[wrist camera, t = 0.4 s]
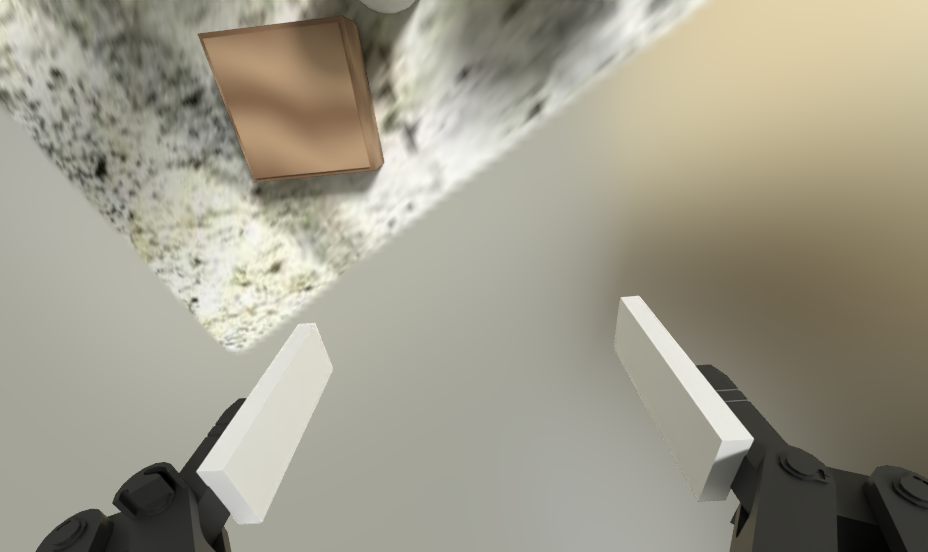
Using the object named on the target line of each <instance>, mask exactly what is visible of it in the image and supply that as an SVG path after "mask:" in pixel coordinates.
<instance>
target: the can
mask: <svg viewBox="0 0 928 552" xmlns="http://www.w3.org/2000/svg"><path fill="white" fill-rule="evenodd" d="M359 1H360V2H361V3H363V4H364V5H365V6H366V7H368V8H369V9H372V10H374V11H377V12H380V13H398V12H400V11H402V10H404V9H407V8H409V7H410V6H411V5H412V4H413V3H414V2H415V1H416V0H359Z"/></svg>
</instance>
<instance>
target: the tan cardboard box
mask: <svg viewBox="0 0 928 552" xmlns="http://www.w3.org/2000/svg"><path fill="white" fill-rule="evenodd" d="M198 36H199V39H200V41H201V44H202V47H203V49H204V52H205V54H206V57H207V60H208V62H209V65H210V67H211V70H212V73H213V75H214V78H215V80H216V83H217V86H218V88H219V91H220V94H221V96H222V99H223V101H224V104H225V107H226V109H227V112H228V114H229V117H230V120H231V122H232V125H233V127H234V130H235V133H236V135H237V138H238V141H239V143H240V146H241V148H242V151H243V154H244V156H245V159H246V161H247V164H248V167H249V169H250V172H251V175H252V177H253V180H254V182H264V181H274V180H284V179H294V178H304V177H314V176H324V175H334V174H344V173H354V172H364V171H374V170H377V169H378V168H379V167H380V166H381V165H382V164H383V163H384V158H383V153H382V148H381V143H380V138H379V133H378V128H377V123H376V118H375V113H374V108H373V103H372V98H371V93H370V88H369V83H368V78H367V73H366V68H365V63H364V58H363V53H362V48H361V43H360V38H359V33H358V28H357V24H356V23H354V22H353V21H351V20H349V19H347V18H346V17H344V16H337V17H329V18H321V19H313V20H305V21H297V22H289V23H280V24H272V25H264V26H256V27H248V28H240V29H232V30H224V31H216V32H208V33H200V34H198Z"/></svg>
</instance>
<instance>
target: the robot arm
mask: <svg viewBox="0 0 928 552" xmlns="http://www.w3.org/2000/svg"><path fill="white" fill-rule="evenodd" d="M614 350H615V352H616V354H617V355H618V357H619V359H620V360H621V363H622V364H623V366H624V368H625V370H626V372H627V374H628V375H629V377H630V379H631V381H632V383H633V385H634V386H635V388H636V390H637V392H638V394H639V395H640V397H641V399H642V401H643V403H644V405H645V406H646V408H647V410H648V412H649V414H650V415H651V417H652V419H653V421H654V422H655V424H656V426H657V428H658V430H659V432H660V433H661V435H662V437H663V439H664V441H665V443H666V444H667V446H668V448H669V450H670V452H671V454H672V455H673V457H674V459H675V461H676V463H677V464H678V466H679V468H680V470H681V472H682V474H683V475H684V477H685V479H686V481H687V482H688V484H689V486H690V488H691V490H692V492H693V493H694V495H695V497H696V499H697V501H698V502H700V501H721V500H726V498H727V496H728V494H729V492H730V489H732V490H733V492H734V493H735V495H736V497H737V498H738V499H739V501H740V504H739V506H738V508H737V510H736V512H735V514H734V516H733V518H732V520H731V522H730V523H732V524H734V530H733V535H732V541H731V547H730V552H928V479H926V478H924V477H922V476H921V475H919V474H917V473H914V472H912V471H909V470H906V469H904V468H901V467H895V466H888V465H886V466H880V467H877V468H876V469H875V470H874V472H873V473H872V474H871V476H867V475H862V474H857V473H853V472H848V471H843V470H839V469H834V468H830V467H826V466H825V465H824V464H823V463H822V462H821V461H819V460H818V459H817V458H816V457H814V456H813V455H811V454H809V453H807V452H805V451H803V450H802V449H800V448H796V447H793V446H789V445H788V444H787V443H786V442H785V441H784V440H783V439H782V438H781V436H780V435H779V434H778V433H777V432H776V431H775V430H774V428H772V426H771V425H770V424H769V423H768V422H767V421H766V419H765V418H764V417H763V416H762V415H761V414H760V413H759V411H758V410H757V409H756V408H755V407H754V406H753V405H752V404H751V402H748V401H747V398H746V397H745V396H744V395H743V393H742V392H741V391H738V388H737V387H736V385H735V384H734V383H733V382H732V381H731V380H730V379H729V378H728V376H727V375H725V374H724V373H722V372H721V371H719V370H718V369H716V368H715V367H713V366H712V365H697V366H695V365H694V364H693V362H692V361H691V360H690V359H689V357H688V356H687V355H686V354H685V353H684V351H683V350H682V349H681V347H680V346H679V345H678V344H677V343H676V341H675V340H674V339H673V338H672V336H671V335H670V334H669V332H668V331H667V330H666V329H665V327H664V326H663V325H662V324H661V322H660V321H659V320H658V319H657V318H656V316H655V315H654V314H653V313H652V311H651V310H650V309H649V308H648V306H647V305H646V304H645V303H644V301H643V300H642V299H641V298H640V296H632V297H621V298H620V304H619V311H618V319H617V326H616V334H615V341H614ZM332 371H333V367H332V364H331V362H330V359H329V357H328V354H327V352H326V349H325V346H324V344H323V341H322V339H321V336H320V333H319V331H318V328H317V326H316V323H305V324H298V325H297V327H296V328H295V330H294V331H293V333H292V334H291V336H290V337H289V338H288V340H287V341H286V343H285V344H284V346H283V347H282V349H281V350H280V351H279V353H278V354H277V356H276V357H275V359H274V360H273V362H272V363H271V364H270V366H269V367H268V369H267V370H266V372H265V373H264V374H263V376H262V377H261V379H260V380H259V382H258V383H257V385H256V386H255V388H254V389H253V390H252V392H251V393H250V395H249V396H248V398H242V399H238V400H237V401H236V402H235V403H233V404H232V405H231V406H230V407H229V408H228V409H226V410H225V412H224V413H223V414H222V416H221V417H220V418H219V420H218V421H217V422H216V426H214V427H213V428H212V429H211V431H210V432H209V433H208V437H206V438H205V439H204V440H203V442H202V443H201V444H200V446H199V447H198V448H197V450H196V451H195V453H194V454H193V455H192V457H191V458H190V459H189V461H188V462H187V463H186V465H185V466H184V467H183V469H182V470H181V472H180V473H178V472H177V471H176V470H175V468H174V467H173V466H172V465H171V464H169V463H166V462H162V463H155V464H153V465H151V466H148V467H146V468H144V469H142V470H141V471H139V472H138V473H136V474H135V475H133V476H132V477H131V478H130V479H129V480H127V482H125V483H124V484H123V485H122V486H121V488H120V489H119V490H118V492H117V493H116V495H115V497H114V500H113V505H115V506H116V507H117V508H118V509H119V510H120V511H121V512H120V513H117V514H114V515H111V516H108V517H107V516H105V515H104V514H103V513H102V512H101V511H100V510H99V509H89V510H85V511H82V512H79V513H77V514H76V515H74V516H72V517H70V518H68V519H67V520H65V521H64V522H63V523H61V524H60V525H59V526H57V527H56V528H55V529H54V530H53V531H52V532H51V533H50V534H49V535H48V536H47V537H46V538H45V539H44V540H43V542H42V543H41V544H40V546H39V547H38V548H37V550H36V552H231V548H230V543H229V538H228V533H227V531H226V529H225V527H224V525H225V523H226V521H227V519H228V517H229V516H230V515H231V516H232V517H233V518H234V520H235V521H236V522H237V523H238V524H255V523H262V522H263V520H264V518H265V515H266V513H267V511H268V509H269V507H270V505H271V503H272V500H273V498H274V496H275V494H276V492H277V490H278V487H279V485H280V483H281V481H282V479H283V477H284V474H285V472H286V470H287V468H288V466H289V464H290V461H291V459H292V457H293V455H294V453H295V450H296V448H297V446H298V444H299V442H300V440H301V438H302V435H303V433H304V431H305V429H306V427H307V425H308V423H309V420H310V418H311V416H312V414H313V412H314V410H315V407H316V405H317V403H318V401H319V399H320V397H321V395H322V392H323V390H324V388H325V386H326V384H327V382H328V379H329V377H330V375H331V373H332Z"/></svg>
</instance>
